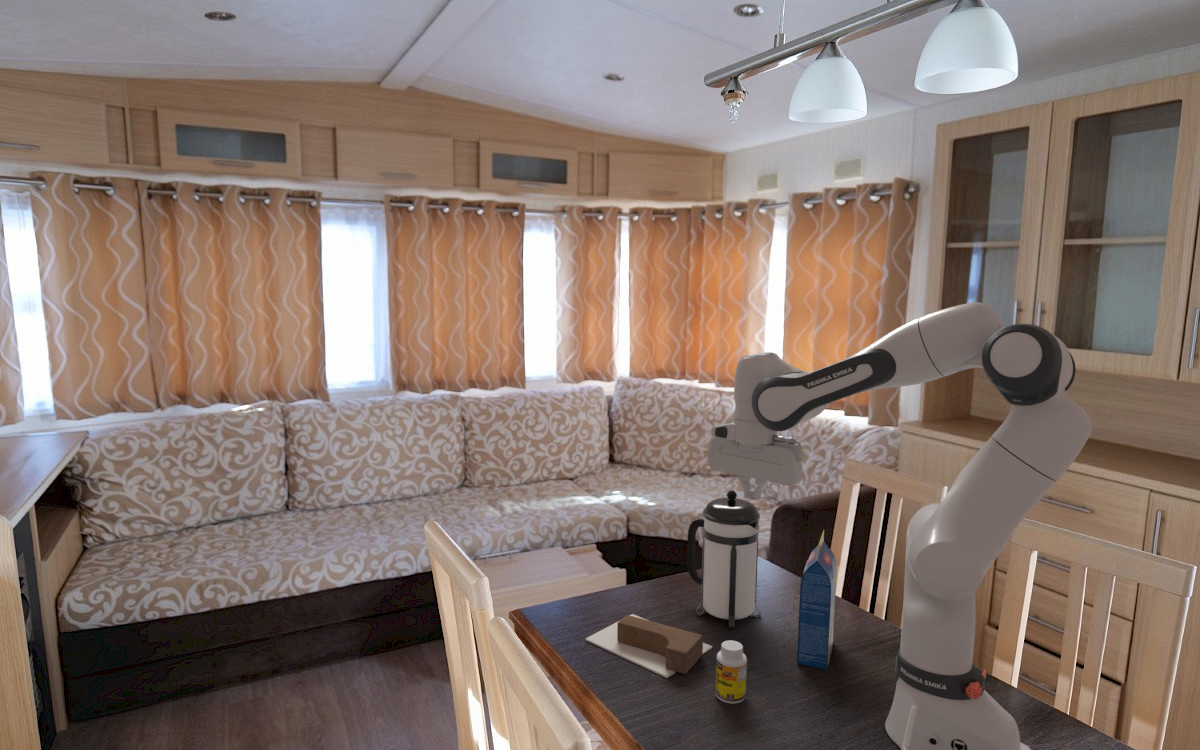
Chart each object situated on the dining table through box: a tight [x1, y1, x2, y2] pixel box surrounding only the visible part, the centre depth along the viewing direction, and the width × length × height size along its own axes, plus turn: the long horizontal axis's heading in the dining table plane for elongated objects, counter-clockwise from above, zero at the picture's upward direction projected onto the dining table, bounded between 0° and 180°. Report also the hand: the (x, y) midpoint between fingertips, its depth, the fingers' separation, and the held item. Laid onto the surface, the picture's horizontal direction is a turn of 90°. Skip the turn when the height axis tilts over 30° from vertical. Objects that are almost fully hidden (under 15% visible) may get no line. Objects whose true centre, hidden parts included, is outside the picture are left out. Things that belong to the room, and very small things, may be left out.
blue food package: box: [796, 529, 838, 670], centre depth 148 cm, size 6×12×25 cm, turn 157°
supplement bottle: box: [715, 639, 748, 705], centre depth 133 cm, size 6×6×10 cm
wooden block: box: [617, 614, 704, 675], centre depth 148 cm, size 9×4×18 cm
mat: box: [584, 613, 713, 679], centre depth 153 cm, size 22×16×1 cm
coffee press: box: [686, 489, 762, 631], centre depth 166 cm, size 17×16×30 cm
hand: (752, 498), depth 147 cm, fingers closed
